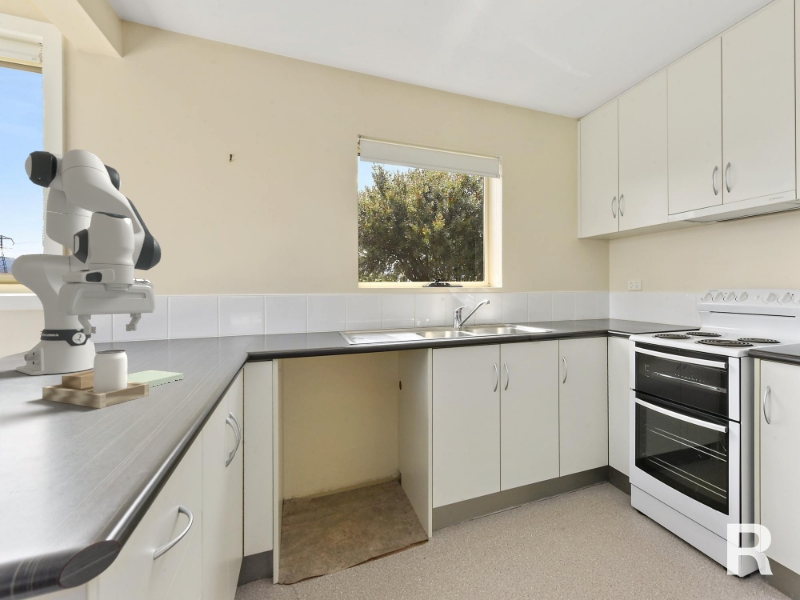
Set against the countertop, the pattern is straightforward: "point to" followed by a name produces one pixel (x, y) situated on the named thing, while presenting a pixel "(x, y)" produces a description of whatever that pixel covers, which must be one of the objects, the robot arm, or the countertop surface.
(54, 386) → the rack
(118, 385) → the can
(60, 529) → the countertop surface
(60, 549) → the countertop surface
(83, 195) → the robot arm
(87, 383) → the offcut upper
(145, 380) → the board
